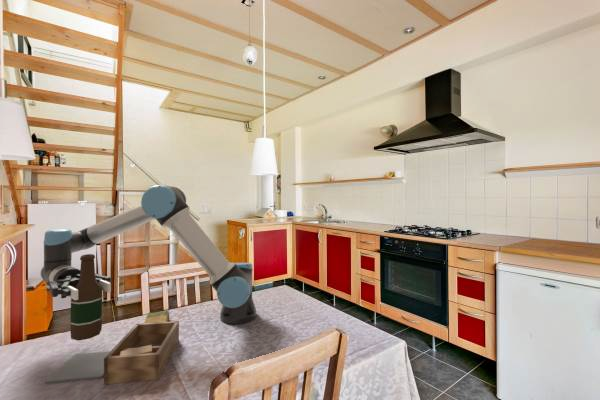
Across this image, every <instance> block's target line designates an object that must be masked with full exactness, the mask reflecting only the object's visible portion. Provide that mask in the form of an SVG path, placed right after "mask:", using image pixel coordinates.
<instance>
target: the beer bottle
mask: <svg viewBox="0 0 600 400" xmlns="http://www.w3.org/2000/svg"><path fill="white" fill-rule="evenodd" d="M95 259H96V256H95V254H93V253H92V254H91V253H88V254H82V255H81V256H80V259H79V260H80V269H79V270H80V279H79V283H78V285H77V286H76V287H75V288H76V289H77V290H78V300H74V299H72V298H70V339H71V340H73V341H84V340H90V339H92V338H95V337H96V336H99V335H100V334H101V332H102V327H103V290H102V288H101V286H100V284H99V283H98V282H97V281H96V278H95V273H96V271H95Z"/></svg>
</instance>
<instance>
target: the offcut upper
mask: <svg viewBox="0 0 600 400" xmlns="http://www.w3.org/2000/svg"><path fill="white" fill-rule="evenodd" d="M152 346H153V344H147V345H142V346H137V347H136V348H133V349H129V350H124V351H121V353H120V356H121V355H133V354H146V353H152Z"/></svg>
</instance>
